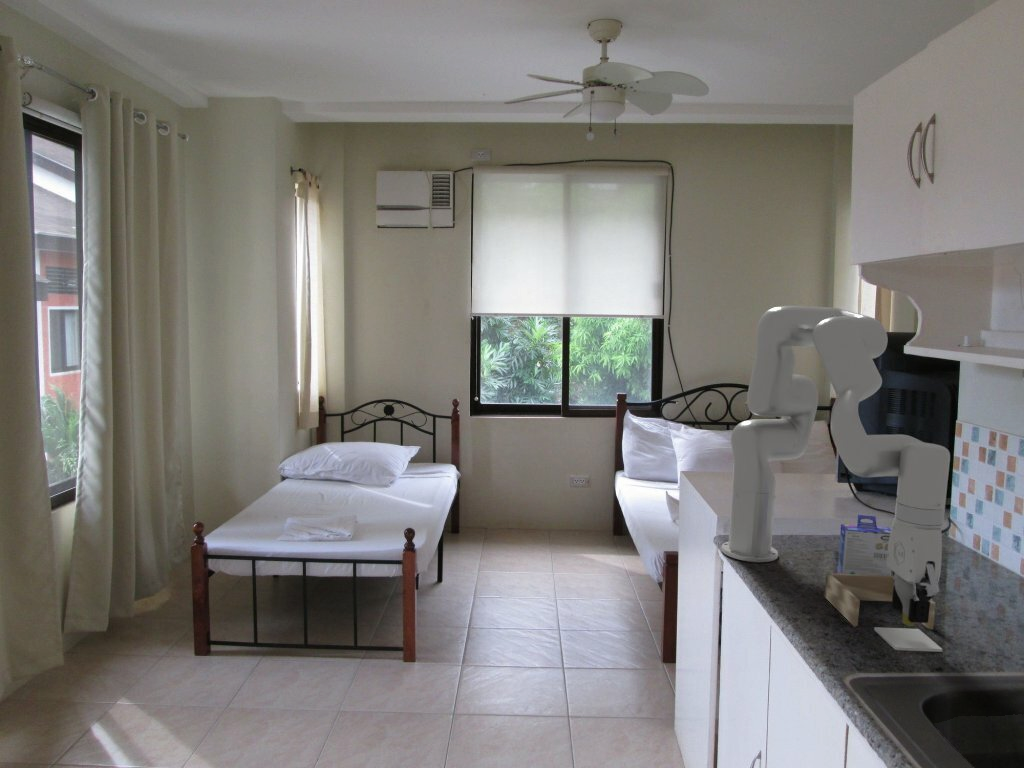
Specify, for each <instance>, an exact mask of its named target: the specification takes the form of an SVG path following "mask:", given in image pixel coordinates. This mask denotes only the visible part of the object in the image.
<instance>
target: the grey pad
mask: <svg viewBox="0 0 1024 768" xmlns="http://www.w3.org/2000/svg"><path fill="white" fill-rule="evenodd" d="M873 630H874V631H875V632H876V633H877V635H878V636H880V637H881V638H882V639H883V640H884V641H886V643H887V644H888V645H889V646H890V647H892V648H893V649H894V651H910V652H912V651H913V652H914V651H915V652H933V653H934V652H936V653H937V652H938V653H939V652H940V653H943V648H942V647H941V646H939V645H938V644H937V643H936V642H935V641H934V640H933V639H931V638H930V637H929V636H927V634H925V633H924V632H923V631H922V630H921V629H919V628H907V627H906V628H905V627H904V628H902V627H878V626H877V627H876V626H875V627H873Z"/></svg>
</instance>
